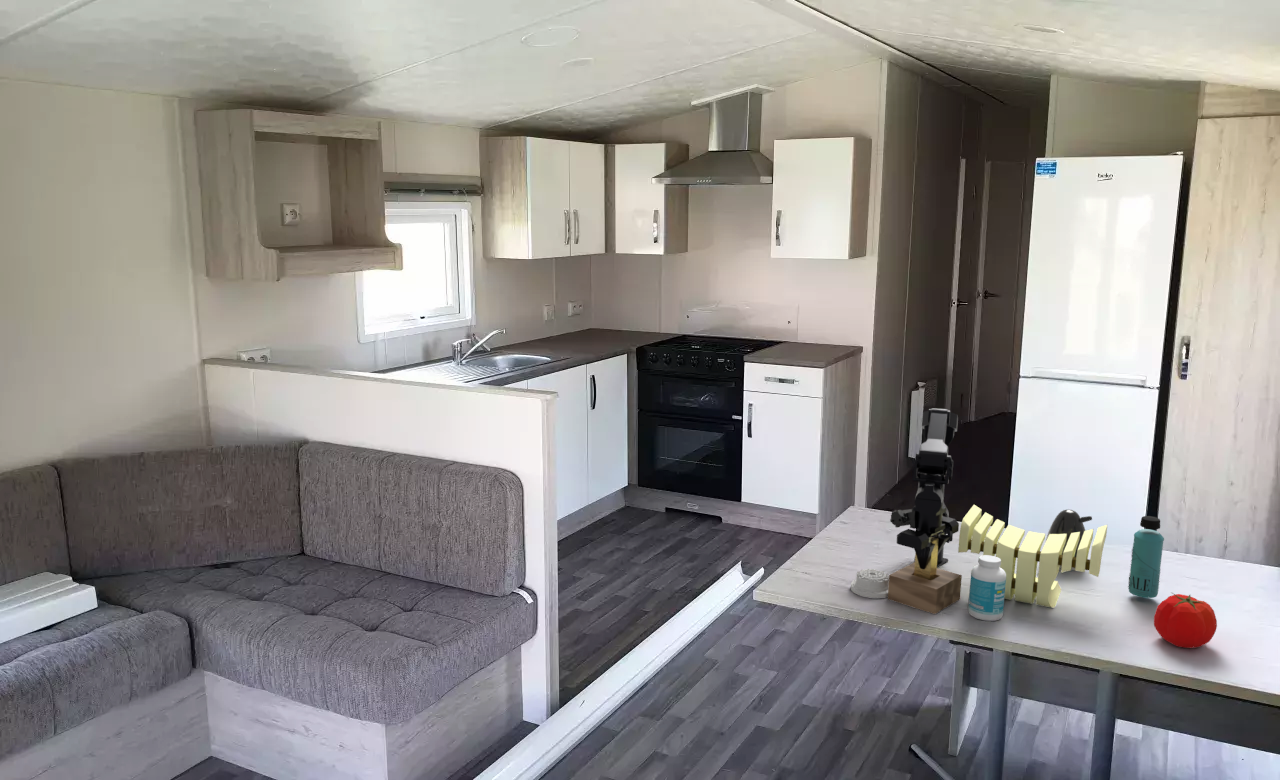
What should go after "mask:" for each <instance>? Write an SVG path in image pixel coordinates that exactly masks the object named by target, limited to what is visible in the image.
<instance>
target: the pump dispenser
mask: <svg viewBox="0 0 1280 780" xmlns="http://www.w3.org/2000/svg"><path fill="white" fill-rule="evenodd" d="M1092 520H1093V516H1092V515H1091V516H1090V515H1089V516H1080V515H1079V513H1078V512H1076V511H1075V510H1073V509H1063V510H1062V511H1060V512H1059V513H1058V514H1057V515H1056V516H1055V518H1054V519H1053V521H1052V523H1051V525H1050V527H1049V529H1048V532H1047V535H1046V537H1045V542H1044V544H1045V543H1046V541H1047V539H1048V536H1049V534H1067V537H1066V543H1065V545H1064V548H1063V551H1062V555H1063V552H1064V550H1065V547H1066V545H1067V542H1068V540H1069V537H1070V535H1071V533H1075V532H1080V538H1079V542H1078V545H1077V548H1076V552H1075V556H1074V557H1077V550H1078V547H1079V545H1080V542H1081V539H1082V536H1083V534H1084V531H1086V529H1085V526H1084V523H1086V522H1089V521H1092ZM1061 569H1062V566H1061V565H1059V570H1061ZM1071 571H1075V568H1073V567H1072V568H1071Z"/></svg>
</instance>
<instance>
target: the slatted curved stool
mask: <svg viewBox="0 0 1280 780" xmlns="http://www.w3.org/2000/svg"><path fill="white" fill-rule="evenodd" d="M982 513H983V512H982V508H980V507H978V506H977V505H975V504H973V505H972V506H971V507H970V509H969V510H968V512H967V513H966V514H965V516H964V517H963V518H962V521H961V524H960V528H959V535H958V536H959V538H958V550H957V552H958V554H959V553H967V552H968V551H970V553H973V554H976V555H977V554H978V555H980V553H982V555H991V556H995V557H998V558H1000V559H1001V565H1000V568H1002V569H1003V570H1004V571H1005V573H1006V585H1005V596H1004V600H1005V599H1006V600H1009V601H1010V600H1012V599H1014V601H1016V602H1021V603H1024V604H1025V603H1026V604H1031V605H1033V604H1034V602H1035V604H1036V605H1037V606H1040V607H1041V606H1042V607H1047V608H1051V609H1055V608H1056V605H1057V604H1058V603H1057V602H1058V600H1059V597H1060V594H1061V592H1062V588H1061V585H1060V583H1059V581H1058V580H1056V578H1057V576H1058V574H1059V571H1060V570H1061V574H1062V573H1065V572H1070V571H1072V570H1071V568H1072V567H1073V568H1075V570H1074V571H1076V572H1081V573H1085V572H1086V571H1088V574H1090V575H1093V576H1095V577H1097V578H1099V575H1100V571H1101V564H1102V557H1103V553H1104V552H1103V551H1104V546H1105V541H1106V538H1107V533H1108V524H1105V525H1101V526H1099V527H1097V529H1096V534H1095V536H1094V528H1092V529H1088V530H1087V529H1085V531H1084V534H1083V536H1082V539H1081V542H1080V545H1079V547H1078V550H1077V557H1074V556H1075V552H1076V548H1077V545H1078V542H1079V538H1080V532H1075V533H1071V535H1070V537H1069V540H1068V542H1067V545H1066V547H1065V550H1064V552H1063V555H1062V551H1063V548H1064V545H1065V543H1066V537H1067V534H1049V536H1048V539H1047V541H1046V533H1043V532H1035V531H1029V530H1028V532H1027V534H1026V535H1025V531H1026V530H1025V529H1024V528H1019V527H1017V526H1014V525H1012V524H1008V525H1007V526H1006V527H1005V523H1006V522H1004V521H1003V520H1000V519H998V518H997V519H995V521H994V516H993V515H991V514H989V513H987V512H986V511H985V512H984V514H983V515H982ZM993 521H994V522H993ZM1004 529H1005V530H1004ZM1002 533H1003V534H1002ZM1001 534H1002V535H1001ZM1024 536H1025V537H1024ZM1023 538H1024V539H1023ZM1093 538H1094V539H1093ZM1044 541H1045V542H1046V543H1045V542H1044ZM1092 541H1093V543H1092ZM1043 544H1044V545H1043ZM1091 544H1092V545H1091ZM1042 546H1043V547H1042ZM1041 548H1042V549H1041ZM1090 548H1091V551H1090ZM1089 553H1090V558H1089ZM1088 558H1089V559H1088ZM1038 563H1039V564H1038ZM1059 565H1061V566H1062V569H1059ZM1037 568H1038V569H1037ZM1037 570H1038V572H1037ZM1015 571H1016V573H1015ZM1037 573H1038V574H1037ZM1037 575H1038V576H1037ZM1036 576H1037V577H1036Z"/></svg>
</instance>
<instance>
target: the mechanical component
mask: <svg viewBox="0 0 1280 780" xmlns="http://www.w3.org/2000/svg"><path fill="white" fill-rule="evenodd" d="M888 586H889V574H888V573H885V571H883V570H882V571H881V570H878V569H873V568H871V569H870V568H867V569H861V570H860V571H857V572H856V579H854V580H852V581H851V583H850V590H851V592H852V593H854V594H856V595H858V596H860V597H864V598H869V599H886V598H888Z"/></svg>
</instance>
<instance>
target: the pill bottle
mask: <svg viewBox="0 0 1280 780" xmlns="http://www.w3.org/2000/svg"><path fill="white" fill-rule="evenodd" d="M977 560H978V561H977V562H978V564H976V565H974V566H973V567H972V568H971V571H970V582H969V593H968V594H969V597H968V607H967V611H968V614H969V615H970V616H972V617H973V618H975V619H978V620H981V621H985V622H995V621H999V620H1001V619H1002V618H1003V615H1004V606H1005V599H1004V596H1005V585H1006V573H1005V571H1004V570H1003V569H1002V568H1000V565H1001V559H1000V558H998V557H996V555H995V556H991V555H983V554H982V555H980V556H979V557H978V559H977Z"/></svg>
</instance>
